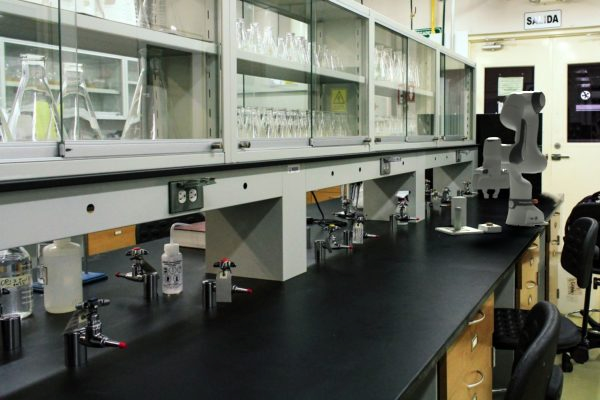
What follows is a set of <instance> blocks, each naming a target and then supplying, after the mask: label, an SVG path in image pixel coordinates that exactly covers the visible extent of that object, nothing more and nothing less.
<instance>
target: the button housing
mask: <svg viewBox="0 0 600 400" xmlns="http://www.w3.org/2000/svg"><path fill="white" fill-rule="evenodd" d="M486 224H487V223H484V224H478V227H477V229H478V230H482V231H484V233H487V234H491V233H493V234H494V233H502V226H501V225H498V224H494V223H493V226H486Z"/></svg>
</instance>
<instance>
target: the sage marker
mask: <svg viewBox="0 0 600 400" xmlns="http://www.w3.org/2000/svg"><path fill="white" fill-rule="evenodd" d="M454 227H455V230H461V207H455V226H454Z"/></svg>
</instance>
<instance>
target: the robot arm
mask: <svg viewBox="0 0 600 400" xmlns="http://www.w3.org/2000/svg"><path fill="white" fill-rule="evenodd" d="M545 95H546V94H544V92H543V91H540V90H534V91H532V90H530V91H527V90H525V91H521V92H515V91H514V92H510V94H509V93H508V94H506V96H505V97H504V98H503V101H502V107H501V110H500V114H499V120H500V122H501V124H502V125H503V126H504V127H505V128H507V129H510V130H513V131H515V136H514V142H515V143H513V144H510V143H509V144H506V143H505V144H504V143H502V140H501V138H500V137H496V136H495V137H493V136H492V137H488V138H486V139H484V143H483V152H482V156H483V162H482V166H480V167H477V168H475V169H473V176H472V180H471V187H472V189H474V190H482V193H483V197H484V199H489V196H490V194H488V193H487V192H488V190H494V193H492V198H494V199H497V198H498V195H499V193H500V190H501V189H509V199H508V214H507V216H506V217H507V218H506V222H505V224H507V225H511V226H518V225H519V226H520V227H523V226H524V227H536V226H535V225H540V226H547V225H549V222H548V221H545V215H544V212H542V211H541V210H540V209H539V208H538V207H536V206H535V204H538V202H539V201H538V199H533V198H532V194H533V193H532V191H533V190H532V189H533V185H532V184H531V182H530V181H529V180H527V179H526V178H524V177H523V176H522V174H537V173H543V172H544V171H545V170H546V169H547V167H548V159H547V156H546V155H545V154H544V153H542V151H540V149H539V147H538V143H537V142H538V133H539V124H540V123H539V121H540V119H539V114H540V113H541V111H542V110H543V109H544V107H545V105H546V96H545Z"/></svg>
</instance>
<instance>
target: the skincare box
mask: <svg viewBox="0 0 600 400" xmlns="http://www.w3.org/2000/svg"><path fill="white" fill-rule="evenodd" d="M450 202H451V203H450V205H451V208H450V209H451V210H450V211H451V214H450V215H451V217H450V218H451V221H450V222H451V223H450V224H451V226H452V227H455V207H461V227H464V226H466V227H467V197H466V196H463V195H462V196H451V201H450Z"/></svg>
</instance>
